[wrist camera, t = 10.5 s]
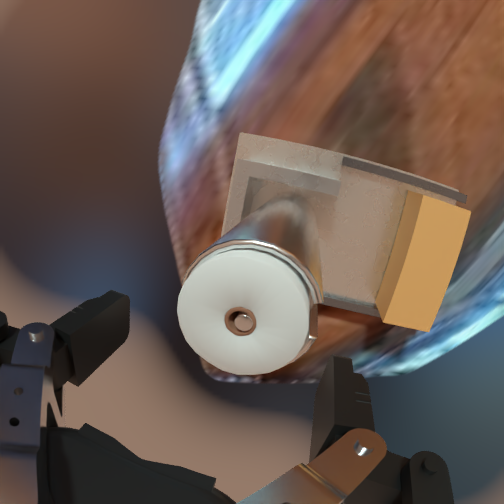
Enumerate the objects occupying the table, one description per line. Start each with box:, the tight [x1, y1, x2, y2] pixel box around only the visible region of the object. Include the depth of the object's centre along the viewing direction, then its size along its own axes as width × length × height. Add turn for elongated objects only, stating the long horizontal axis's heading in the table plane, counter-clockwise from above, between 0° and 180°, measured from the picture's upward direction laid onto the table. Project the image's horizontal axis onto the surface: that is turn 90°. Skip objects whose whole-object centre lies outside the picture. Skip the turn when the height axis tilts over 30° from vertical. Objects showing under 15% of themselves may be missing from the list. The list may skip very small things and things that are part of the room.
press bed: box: [221, 133, 467, 318], centre depth 34 cm, size 28×18×6 cm, turn 79°
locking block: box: [375, 190, 471, 332], centre depth 31 cm, size 6×14×6 cm, turn 169°
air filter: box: [177, 192, 324, 375], centre depth 24 cm, size 6×6×25 cm
